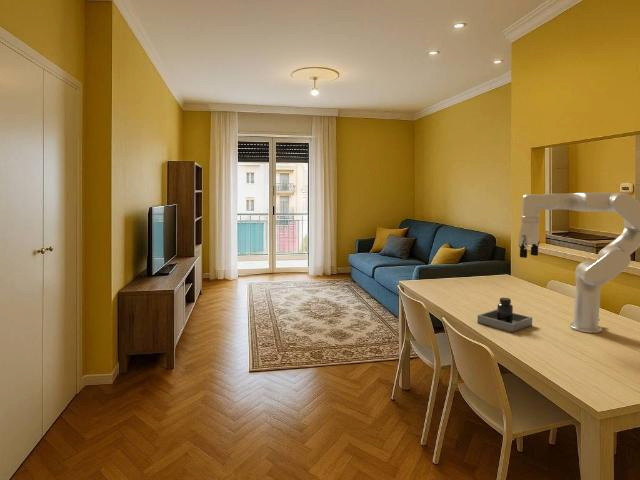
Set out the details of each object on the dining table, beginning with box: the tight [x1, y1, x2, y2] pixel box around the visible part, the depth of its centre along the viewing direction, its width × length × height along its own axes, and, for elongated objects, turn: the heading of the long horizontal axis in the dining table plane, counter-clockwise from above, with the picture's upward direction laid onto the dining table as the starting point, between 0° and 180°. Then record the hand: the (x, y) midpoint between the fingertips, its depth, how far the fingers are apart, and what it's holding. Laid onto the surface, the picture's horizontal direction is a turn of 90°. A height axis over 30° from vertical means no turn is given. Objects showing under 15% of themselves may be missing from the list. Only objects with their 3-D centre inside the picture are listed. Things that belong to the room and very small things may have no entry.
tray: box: [476, 308, 533, 334], centre depth 195 cm, size 17×18×4 cm
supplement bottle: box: [496, 297, 514, 324], centre depth 195 cm, size 7×7×12 cm
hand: (528, 256), depth 191 cm, fingers open, 9 cm apart
